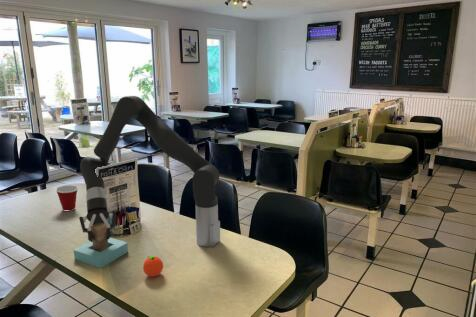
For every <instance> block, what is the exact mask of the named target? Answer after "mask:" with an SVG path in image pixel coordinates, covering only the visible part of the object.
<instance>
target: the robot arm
mask: <svg viewBox="0 0 476 317" xmlns="http://www.w3.org/2000/svg"><path fill="white" fill-rule="evenodd" d="M131 119H132V120H133V119H134V120H135V121H137V122H138V123H139V124H140V125H141V126H143V127H144V129H146V131H147V132H148V134H149V136H150V137H151V139H152V141H153V142H154V144H155V145H156V146H157V147H158V148H159V150H161V151H162V152H163V153H164V154H166V155H167V156H168V157H169V158H171V159H173V160H175V161H178V162H180V163H181V164H183V165H185V166H187V167H188V168H189V169H190V170H191V171H192V172H193V176H192V192H193V199H194V202H195V230H196V232H195V234H196V236H195V237H196V244H197V245H198V246H200V247H206V248H208V247H211V248H214V247H215V246H216V245H217V244H219V243H220V242H221V221H220V220H219V206H218V205H219V202H218V201H219V199H218V196H217V195H216V185H217V183H218V182H219V180H220V172H219V170H218V168H217V167H216V166H214V165H213V164H212V163H211V162H210V161H208V160H206V158H204V157H203V156H201V154H199V153H198V152H197V151H196V150H195V149H194V148H193V147H192V146H191V145H190V144H189V143H188V142H186V141H185V140H184V139H183V138H182V137H181V136H180V134H178V133H177V132H176V131H175V130H174V129H173V128H171V127H170V126H169V125H168V124H167V123H166V122H164V121H163V119H161V118H160V117H159V116H158V115H157V114H156V113H155V112H154V111H153V110H152V109H151V108H150V107H149V106H148V104H147V103H146V102H145V101H144V99H143V98H141V97H139V96H137V95H124V96H122V97H121V98H120V99H119V100H118V102H116V105H115V108H114V110H113V113H112V115H111V118H110V120H109V123H108V124H107V127H106V129H105V130H104V133H103V134H102V136H101V137H100V139H99V141H98V142H97V143H96V146H95V147H94V148H93V153H94V155H95V156H96V157H97V158H96V157H92V156H85V157H83V158H82V159H81V161H80V164H79V169H80V173H81V175H82V177H83V180H84V182H85V189H86V196H85V198H86V199H85V200H86V212H87V214H86V216H79V218H78V219H79V223H80V227H81V230H82V233H87V239H88V242H93V241H92V231H91V226H93V225H95V224H97V223H102V224H106V225H107V238H108V239H109V238H112V229H115V228H116V219H117V213H116V212H115V211H114V212H109V211H108V204H107V194H106V190H105V180H104V178H103V177H102V176H100V175H98V177H97V175H96V173H95V169H96V168H97V167H102V166H107V167H108V164H109V161H110V158H111V156H112V154H113V152H114V151H115V149H116V148H117V147H118V144H119V141H120V138H121V133H122V132H123V129H124V128H125V126H126V125H127V124H128V123H129V122H130V121H131ZM99 176H100V177H99ZM102 178H103V179H102ZM103 180H104V181H103ZM109 217H110V219H111V224H110V223H109V221H108V220H107V219H109ZM86 221H88V222H89V225H88V227H86V225H85V223H86Z"/></svg>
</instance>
